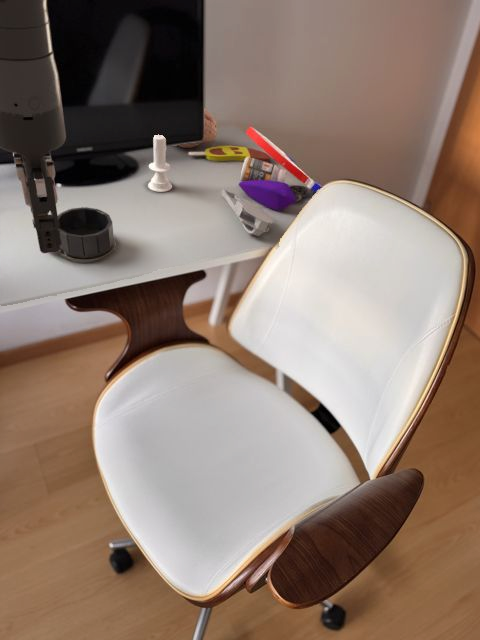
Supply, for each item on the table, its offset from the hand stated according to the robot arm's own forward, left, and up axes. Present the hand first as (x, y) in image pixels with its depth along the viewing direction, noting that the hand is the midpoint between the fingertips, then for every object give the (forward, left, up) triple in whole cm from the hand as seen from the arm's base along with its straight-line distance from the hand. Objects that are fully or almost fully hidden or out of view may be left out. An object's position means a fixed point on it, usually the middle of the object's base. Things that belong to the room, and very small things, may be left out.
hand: (45, 231), depth 67 cm
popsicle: (+40, +59, -22) cm, 74 cm away
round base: (+9, +28, -22) cm, 37 cm away
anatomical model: (+40, +73, -24) cm, 87 cm away
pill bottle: (+48, +45, -19) cm, 69 cm away
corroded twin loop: (+58, +36, -23) cm, 72 cm away
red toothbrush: (+59, +45, -19) cm, 77 cm away
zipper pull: (+43, +30, -18) cm, 56 cm away
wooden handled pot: (+8, +28, -22) cm, 37 cm away
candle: (+29, +47, -23) cm, 60 cm away
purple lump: (+46, +42, -21) cm, 66 cm away
